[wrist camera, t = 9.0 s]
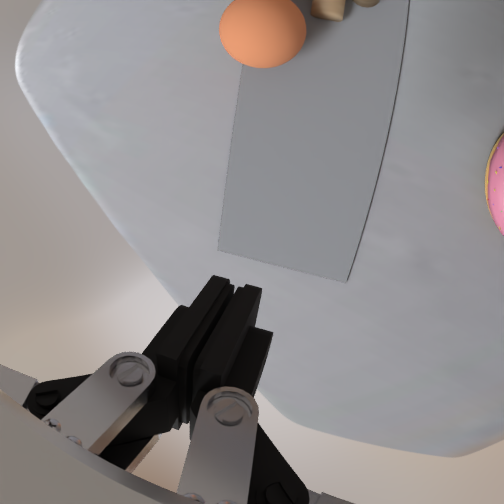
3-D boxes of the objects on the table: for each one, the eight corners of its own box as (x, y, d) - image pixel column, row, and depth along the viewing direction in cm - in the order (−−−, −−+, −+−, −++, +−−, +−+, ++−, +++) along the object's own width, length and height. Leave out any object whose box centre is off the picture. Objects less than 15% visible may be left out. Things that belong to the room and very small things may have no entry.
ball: (256, -36, 14) (261, 32, 14) (318, -2, 18) (329, 63, 18) (203, 5, 18) (202, 69, 19) (263, 27, 22) (267, 86, 23)
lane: (411, -59, 13) (412, -60, 13) (345, 282, 28) (345, 283, 28) (270, -81, 15) (270, -82, 15) (218, 249, 30) (217, 250, 30)
